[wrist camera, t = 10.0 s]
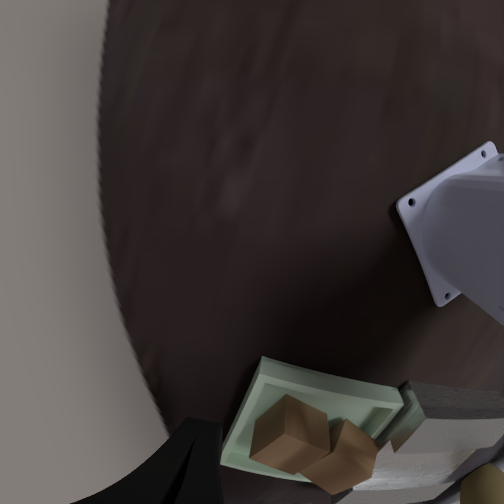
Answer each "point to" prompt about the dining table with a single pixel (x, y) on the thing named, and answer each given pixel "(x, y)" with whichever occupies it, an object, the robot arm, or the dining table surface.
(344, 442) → the chip
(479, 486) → the squeeze bottle
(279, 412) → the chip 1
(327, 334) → the dining table surface
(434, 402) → the slot block
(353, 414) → the tray
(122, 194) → the dining table surface
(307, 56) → the dining table surface
